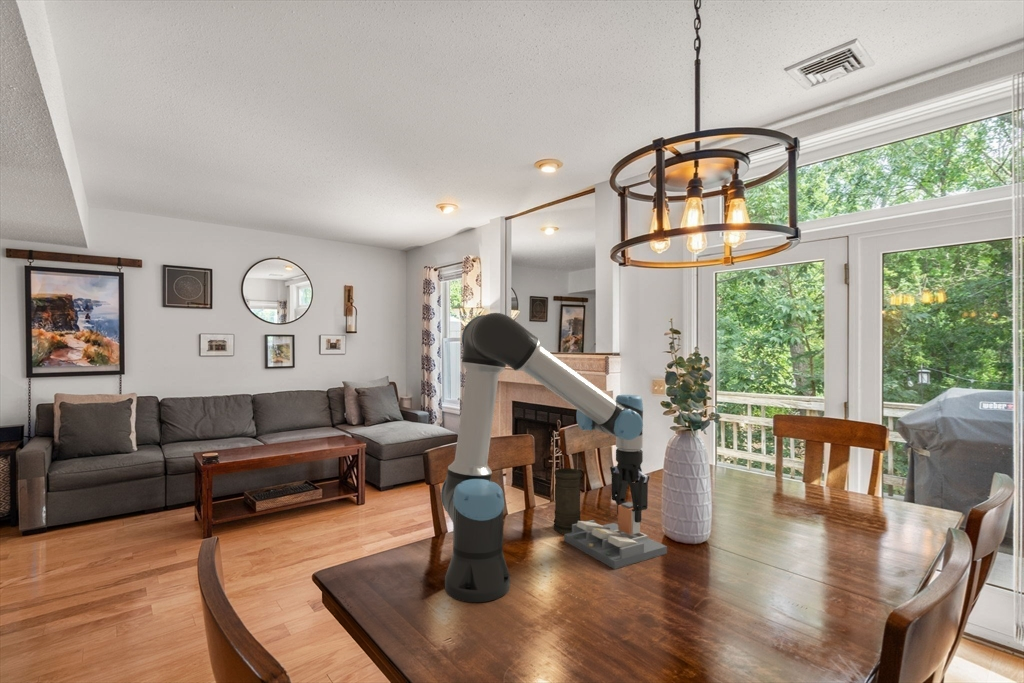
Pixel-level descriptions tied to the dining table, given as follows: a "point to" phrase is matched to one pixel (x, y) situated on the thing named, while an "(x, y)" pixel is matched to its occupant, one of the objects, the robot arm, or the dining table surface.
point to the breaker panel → (610, 552)
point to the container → (567, 499)
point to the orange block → (625, 517)
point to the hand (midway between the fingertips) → (628, 529)
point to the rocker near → (621, 541)
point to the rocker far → (588, 525)
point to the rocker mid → (604, 533)
